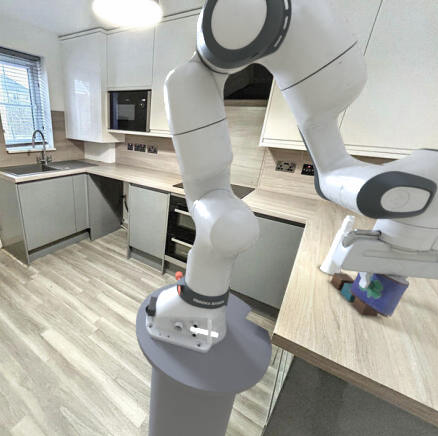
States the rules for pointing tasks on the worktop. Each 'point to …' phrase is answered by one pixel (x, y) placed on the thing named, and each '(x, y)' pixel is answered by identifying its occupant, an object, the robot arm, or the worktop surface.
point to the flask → (381, 292)
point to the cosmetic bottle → (329, 264)
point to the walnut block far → (341, 280)
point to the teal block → (347, 292)
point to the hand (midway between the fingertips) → (375, 288)
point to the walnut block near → (363, 308)
